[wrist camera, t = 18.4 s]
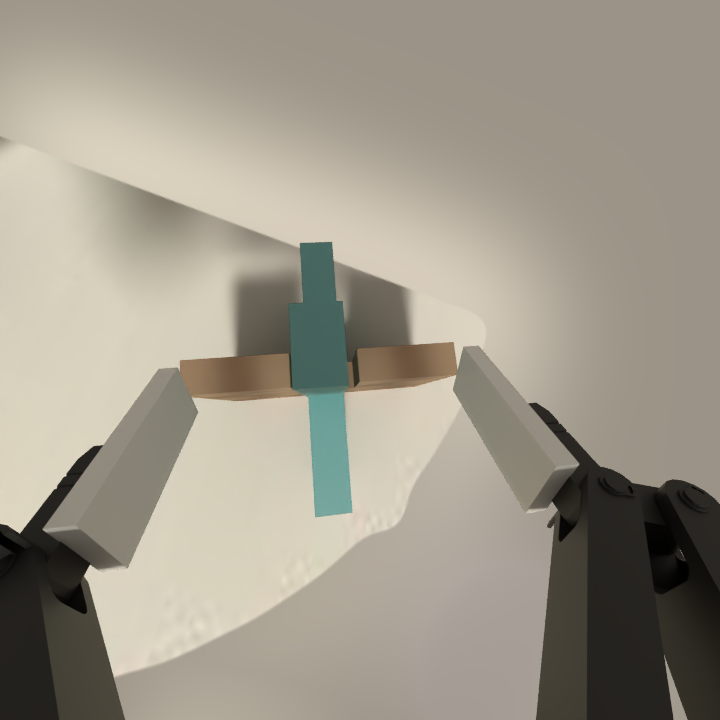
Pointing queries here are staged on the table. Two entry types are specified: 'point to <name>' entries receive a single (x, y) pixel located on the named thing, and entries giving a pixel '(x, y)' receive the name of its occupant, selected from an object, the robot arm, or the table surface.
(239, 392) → the walnut slotted plate
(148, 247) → the table surface
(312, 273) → the teal slotted plate
